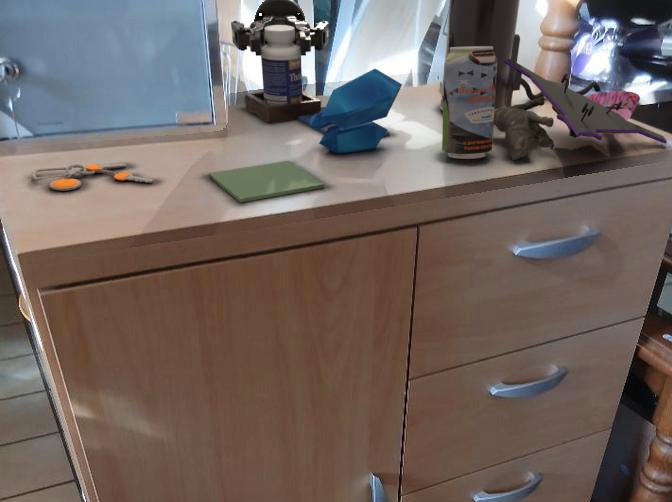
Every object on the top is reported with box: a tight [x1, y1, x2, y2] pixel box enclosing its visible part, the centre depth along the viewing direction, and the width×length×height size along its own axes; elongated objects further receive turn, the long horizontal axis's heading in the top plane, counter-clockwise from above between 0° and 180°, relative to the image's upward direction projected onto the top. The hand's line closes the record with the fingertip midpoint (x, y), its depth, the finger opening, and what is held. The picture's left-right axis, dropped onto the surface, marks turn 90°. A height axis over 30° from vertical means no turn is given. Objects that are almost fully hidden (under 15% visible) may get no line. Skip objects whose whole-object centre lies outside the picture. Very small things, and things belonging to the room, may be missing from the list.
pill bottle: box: [260, 25, 303, 105], centre depth 101 cm, size 5×5×10 cm
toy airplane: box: [504, 59, 667, 144], centre depth 90 cm, size 23×26×5 cm
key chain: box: [31, 163, 154, 192], centre depth 82 cm, size 13×7×1 cm, turn 106°
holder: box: [244, 90, 322, 124], centre depth 104 cm, size 8×8×2 cm
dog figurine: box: [493, 96, 555, 161], centre depth 91 cm, size 12×6×7 cm
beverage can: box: [441, 46, 497, 160], centre depth 87 cm, size 6×7×12 cm
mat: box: [208, 160, 325, 203], centre depth 83 cm, size 10×9×1 cm
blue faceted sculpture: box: [309, 68, 403, 154], centre depth 90 cm, size 7×9×12 cm
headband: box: [584, 90, 641, 121], centre depth 100 cm, size 11×4×2 cm
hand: (280, 46), depth 97 cm, fingers closed on pill bottle, 5 cm apart
